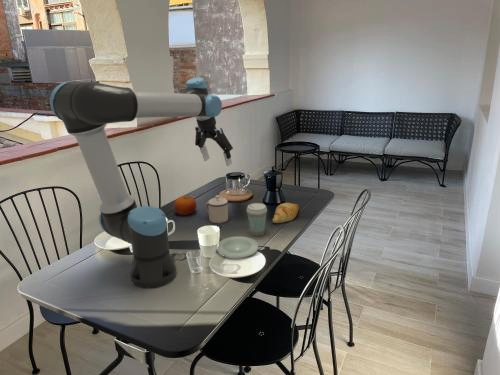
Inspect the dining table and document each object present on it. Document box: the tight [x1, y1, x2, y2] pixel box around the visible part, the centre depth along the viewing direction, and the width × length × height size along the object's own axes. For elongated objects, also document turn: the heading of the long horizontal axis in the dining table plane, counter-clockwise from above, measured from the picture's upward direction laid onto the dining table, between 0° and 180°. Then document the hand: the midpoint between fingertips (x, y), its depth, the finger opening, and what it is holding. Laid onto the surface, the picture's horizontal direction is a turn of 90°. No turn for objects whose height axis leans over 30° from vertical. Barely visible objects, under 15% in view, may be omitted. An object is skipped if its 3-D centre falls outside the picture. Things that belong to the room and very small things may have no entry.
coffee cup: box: [246, 202, 268, 237], centre depth 153 cm, size 8×8×12 cm
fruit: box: [173, 195, 197, 216], centre depth 175 cm, size 11×10×8 cm
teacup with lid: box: [205, 194, 229, 224], centre depth 167 cm, size 12×9×12 cm
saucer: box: [216, 235, 259, 259], centre depth 141 cm, size 16×16×2 cm
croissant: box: [272, 202, 300, 224], centre depth 169 cm, size 21×10×8 cm, turn 145°
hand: (217, 162), depth 160 cm, fingers open, 13 cm apart
